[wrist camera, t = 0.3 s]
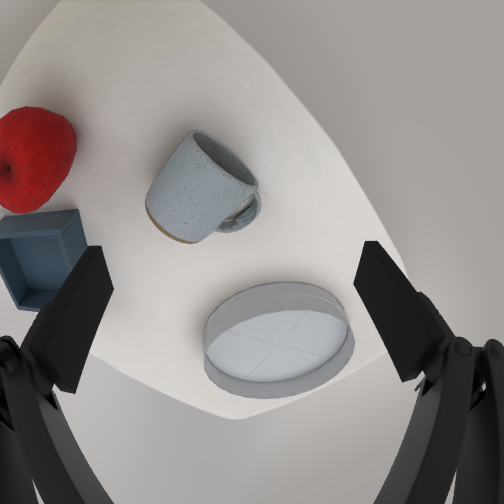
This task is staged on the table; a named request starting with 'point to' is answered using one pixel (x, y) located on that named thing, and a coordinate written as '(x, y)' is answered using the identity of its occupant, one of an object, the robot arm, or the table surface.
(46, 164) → the apple
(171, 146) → the table surface
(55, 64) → the table surface
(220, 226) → the ceramic mug
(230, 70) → the table surface
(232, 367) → the dish
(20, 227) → the tub
